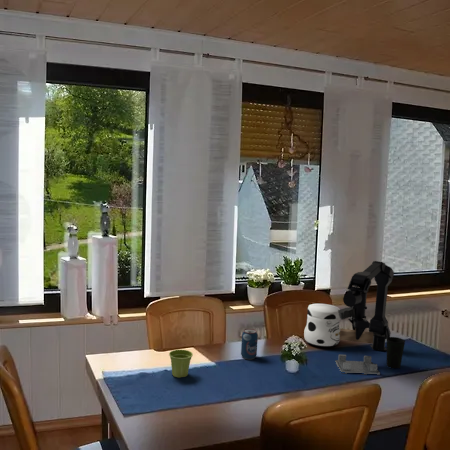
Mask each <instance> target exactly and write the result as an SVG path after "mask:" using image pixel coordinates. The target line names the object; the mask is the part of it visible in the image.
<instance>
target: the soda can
mask: <svg viewBox="0 0 450 450" xmlns="http://www.w3.org/2000/svg"><path fill="white" fill-rule="evenodd" d="M258 336H259V335H258V333H257V330H256V329H253V328H244V329H243V331H242V333H241V345H240V346H241V349H240V355H241V357H242V358H243V359H244V360H250V361H251V360H255V359H256V357H257V355H258V339H259V337H258Z"/></svg>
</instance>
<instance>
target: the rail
mask: <svg viewBox="0 0 450 450" xmlns="http://www.w3.org/2000/svg"><path fill="white" fill-rule="evenodd" d="M339 340H340V341H347V342H355V343H363V344H369V345H373V332H369V331H366V330H364V332H363V333H362V335H361V337H360V338H359V340H356V333H355V330H353V329H348V328H347V329H346V328H340V339H339Z"/></svg>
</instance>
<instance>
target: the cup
mask: <svg viewBox="0 0 450 450" xmlns="http://www.w3.org/2000/svg"><path fill="white" fill-rule="evenodd" d="M385 343H386V349H387V351H386V366H388V368H389V367H391V368H390V369H392V368H399V369H401V365H402V360H403V354H404V349H405V344H406V341H405V339H403V338H401V337H397V336H396V337H395V336H390V337H388V338H387V339H386V340H385Z"/></svg>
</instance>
